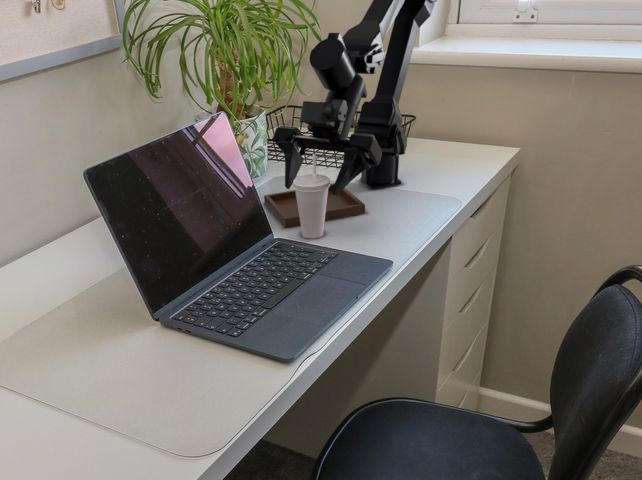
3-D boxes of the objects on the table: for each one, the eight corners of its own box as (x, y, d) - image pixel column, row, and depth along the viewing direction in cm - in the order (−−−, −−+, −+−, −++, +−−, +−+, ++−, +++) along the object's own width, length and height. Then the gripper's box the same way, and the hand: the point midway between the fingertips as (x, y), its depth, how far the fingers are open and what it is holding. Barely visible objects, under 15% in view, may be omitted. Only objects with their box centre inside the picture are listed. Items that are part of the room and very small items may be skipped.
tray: (338, 190, 139) (338, 182, 138) (365, 213, 128) (365, 204, 127) (264, 203, 136) (263, 195, 135) (285, 227, 126) (285, 219, 125)
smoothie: (332, 240, 120) (331, 158, 111) (295, 242, 120) (292, 161, 112) (329, 226, 125) (328, 147, 116) (294, 228, 125) (290, 149, 117)
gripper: (275, 75, 115) (243, 161, 115) (377, 81, 106) (343, 174, 106) (300, 113, 125) (271, 192, 124) (395, 121, 116) (365, 207, 115)
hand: (310, 191), depth 117 cm, fingers open, 9 cm apart
